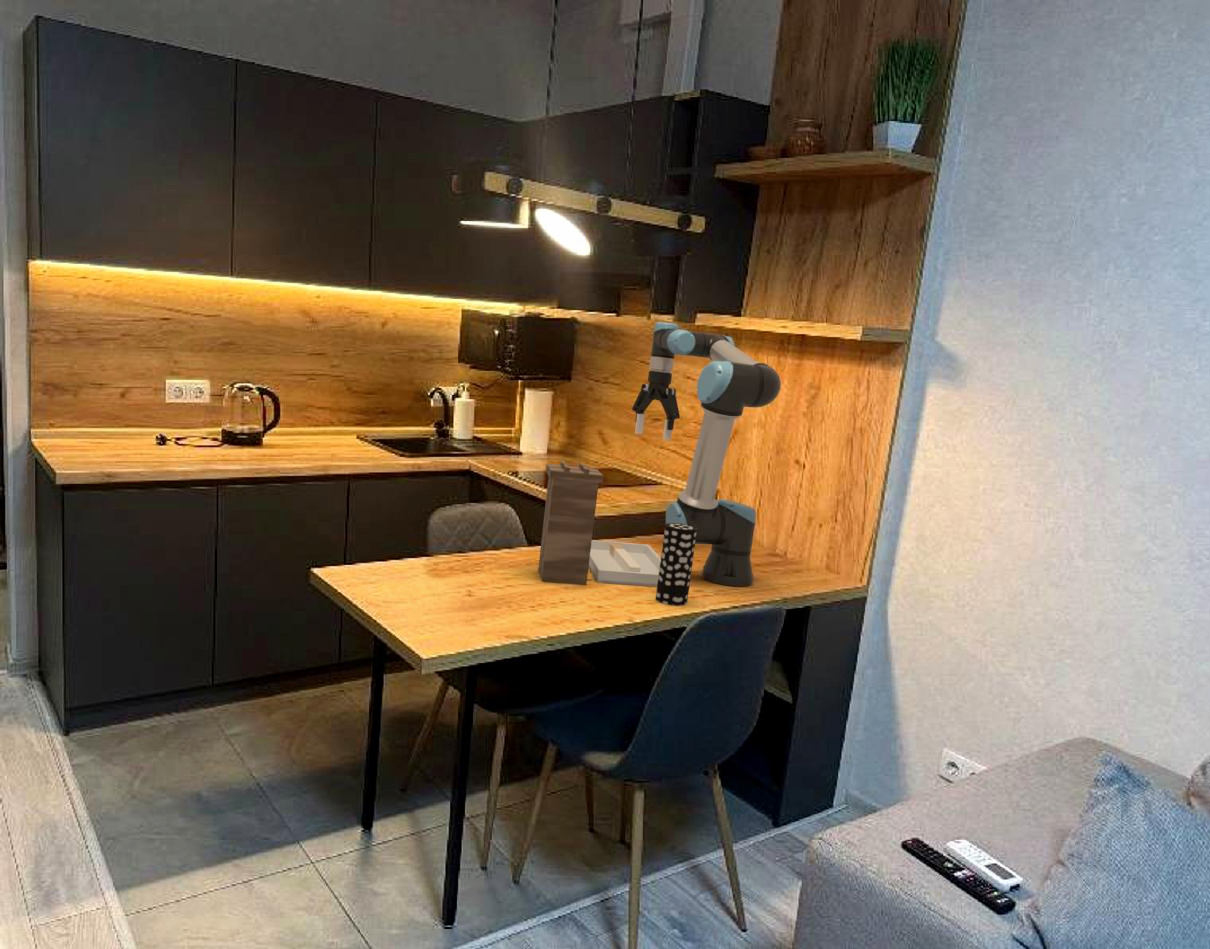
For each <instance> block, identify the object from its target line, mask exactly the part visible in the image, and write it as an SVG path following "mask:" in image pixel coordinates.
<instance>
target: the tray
mask: <svg viewBox="0 0 1210 949" xmlns="http://www.w3.org/2000/svg"><path fill="white" fill-rule="evenodd" d="M611 544H619V545H621V546H622V547H623V548H624V549H625V551H626V552H627V553H628V554H629V555H630V556H631V557H632V558H633V560H634V561H635V562H636V563H637V564H638V565H639V566H640V567H641V570H640V572H629V571H623V569H622V568H621V567H620V566H619V564H618V563H617V562H616V561H615V559H614V558H613V557H612V556H611V555H610V545H611ZM660 561H661V556H660V555H659V554H657V552H656V551H655V550H654V549H653V548H652V547H651V545H650V544H646V543H643V544H642V543H635V542H634V543H632V542H631V543H630V542H620V541H610V540H596V539H592V542H591V551H590V559H589V567H588V570H590V572H591V574H592V575H593V578H594V579H595V581H596V583H598V584H609V585H610V584H611V585H623V586H636V587H649V588H650V587H651V588H657V584H658V576H659V569H660Z"/></svg>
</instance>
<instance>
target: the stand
mask: <svg viewBox="0 0 1210 949" xmlns="http://www.w3.org/2000/svg"><path fill="white" fill-rule="evenodd" d="M545 472H546V474H547V477H548V479H547V487H546V488H547V489H546V496H545V503H544V504H545V505H544V506H545V507H544V513H543V514H544V515H543V521H542V522H543V525H542V532H541V533H542V534H541V540H540V551H539V559H538V568H537V569H538V570H537V571H538V574H539V578H540V580H541V582H542V583H552V584H553V583H555V584H565V585H566V584H568V585H581V586H587V582H588V574H589V573H588V572H589V559H590V551H591V542H592V540H593V531H594V525H595V517H596V516H595V515H596V507H597V501H598V494H599V493H598V492H599V486H600V484H603V483H604V475H603V473H602V472H600V471H599V469H597V468H596V467H595V468H594V467H587V466H586V465H585V463H584V462H579V463H578V466H574V465H568V464H567V463H566V461H565V460H560V464H554V463H553V464H552V463H546V464H545Z"/></svg>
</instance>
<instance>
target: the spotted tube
mask: <svg viewBox="0 0 1210 949" xmlns="http://www.w3.org/2000/svg"><path fill="white" fill-rule="evenodd" d="M663 532H664V534H663V540H662V548H661V554H660V555H661V556H660V558H661V561H660V569H659V576H658V584H657V587H656V592H655V593H656V594H655V600H656V601H657V602H659V603H660V604H665V605H669V606H677V607H679V606H680V607H681V606H686V605H687V604H688V598H689V593H690V592H689V591H690V583H691V576H692V572H693V571H692V570H693V569H692V568H693V562H694V561H693V560H694V556H695V555H694V554H695V549H696V544H695V541H696V534H697V528H696V527H694V526H690V525H686V524H679V523H667V524H666V523H665V525H664V531H663Z"/></svg>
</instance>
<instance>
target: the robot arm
mask: <svg viewBox="0 0 1210 949" xmlns="http://www.w3.org/2000/svg"><path fill="white" fill-rule="evenodd" d="M652 334H653V335H652V336H653V337H652V345H651V352H650V353H651V354H650V360H649V366H648V368H649V369H650V370H649V371H648V375H647V382H648V383H649V384H647V383H642V384H641V388H640V391H639V393H638V395H637V398H636V400H635V401H634V403H633V406H632V408H631V409H632V412H633V411H634V412H635V414H636V415H635V421H634V422H635V427H634V428H635V429H634V434H637V435H638V434H639V435H642V434H643V433H644V432H643V431H644V424H645V417H646V414H645V411H646V410H647V409H648V407H649V406H650V405H651V403H652V402H653V401H654V400H655V401H659V403H660V404H661V406H662V407H663V408H662V409H663V411H664V414H665V415H666V418H665V420H664V427H663V428H664V429H663V435H662V440H663V441H671V439H672V432H673V430H674V425H675V420H679V419H680V417H681V415H680V410H679V406H678V400H677V389H676V388H674V387H673V388H672V387H670V385H671V384H672V378H673V374H672V373H671V372H673V370H674V362H675V355H676V356H678V355H679V356H689V357H699V358H704V359H709V360H711V362H708V364H707V365H705V366H704V368H703V369H702V371H701V373H699V377H698V379H697V383H696V389H697V391H696V395H697V399H698V400H699V402H701V403H700V407H701V408H702V411H703V417H702V422H701V424H700V429H699V434H698V438H697V441H696V445H695V449H694V454H693V457H692V461H691V466H690V470H689V473H688V477H687V481H686V485H685V489H684V490H682V491H680V492H678V495H677V499H676V501H672V502H670V503H669V504H668V505H667V506H666V512H665V524H667V523H679V524H686V525H690V526H694V527H696V528H697V534H696V541H695V545H711V547H710V548H711V549H710V551H709V552H710V553H709V555H708V557H706V558H707V559H706V561H705V564H704V566H702V569H701V577H702V579H705V581H708V582H710V583H711V582H712V583H715V584H719V585H723V586H730V587H749V586H752V585H753V582H754V574H753V567H752V562H751V561H752V560H751V556H752V555H751V552H752V548H753V547H752V546H753V541H754V533H755V527H756V520H757V512H756V509H754V508H753V507H752V506H749V505H747V504H743V503H740V502H736V501H732V500H729V499H724V498H722V499H718V500H717V499H716V494H717V489H718V485H719V482H720V477H721V473H722V470H723V467H724V463H725V458H726V455H727V451H728V449H729V448H728V447H729V445H730V440H731V435H732V432H733V429H734V424H735V420H738V418H741V417H742V415H743V412H744V409H745V408H762V407H766V406H768V405H769V404H771V403H773V401H775V400H776V398H777V397H778V395H779V393H780V391H781V386H782V385H781V383H782V382H781V378H780V376H779V373H778V372H777V371H776V370H775V369H774V368H772V367H771V366H770V365H768V364H767V363H765V362H758V361H756V360H755V359H753V358H752V357H750V356H749V355H748V354H746V353H745V352H744V351H742V350H741V349H739V348H738V347H736V346H735V345H736V344H735V342H734V339H733V338H732V337H731V336H728V335H724V334H715V333H714V334H713V333H706V332H705V333H704V332H699V331H692V330H691V331H690V330H687V329H679V326H678V324H677V323H672V322H667V321H666V322H664V321H663V322H662V321H657V322H655V324H654V328H653V333H652Z"/></svg>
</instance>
